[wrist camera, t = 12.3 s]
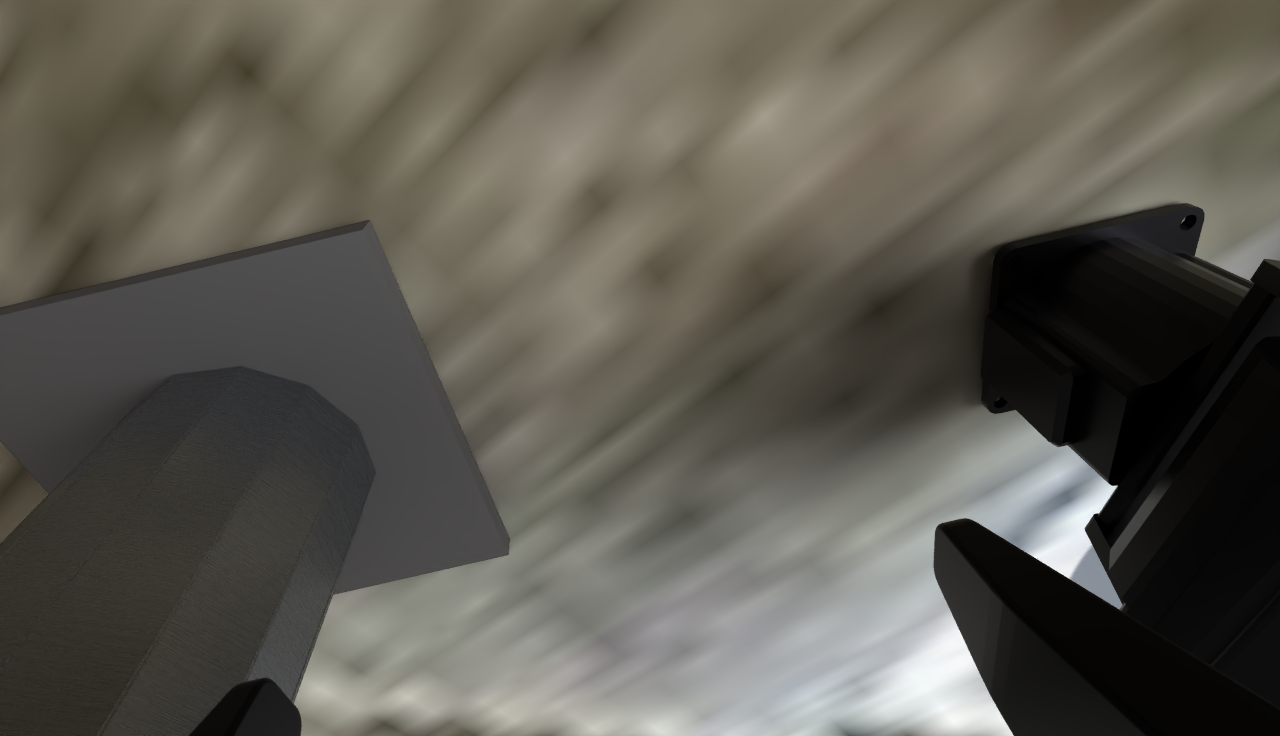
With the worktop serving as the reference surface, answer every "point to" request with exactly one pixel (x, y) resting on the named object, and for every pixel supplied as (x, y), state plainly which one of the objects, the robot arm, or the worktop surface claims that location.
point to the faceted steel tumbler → (180, 558)
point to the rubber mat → (275, 344)
